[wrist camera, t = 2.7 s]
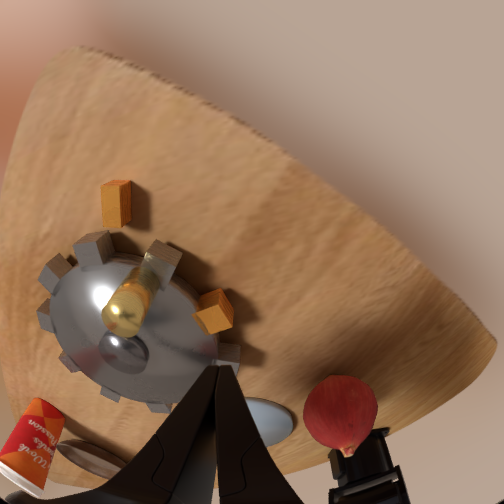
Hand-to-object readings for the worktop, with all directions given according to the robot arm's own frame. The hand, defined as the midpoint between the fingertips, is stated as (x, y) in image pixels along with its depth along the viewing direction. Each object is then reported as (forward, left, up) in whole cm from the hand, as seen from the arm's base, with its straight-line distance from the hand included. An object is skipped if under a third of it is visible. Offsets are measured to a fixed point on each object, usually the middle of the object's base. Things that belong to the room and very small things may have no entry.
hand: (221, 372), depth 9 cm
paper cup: (+25, +26, -9) cm, 38 cm away
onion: (-9, +10, -9) cm, 17 cm away
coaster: (-2, +18, -9) cm, 21 cm away
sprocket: (+7, +6, -9) cm, 13 cm away
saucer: (+21, +39, -9) cm, 46 cm away
